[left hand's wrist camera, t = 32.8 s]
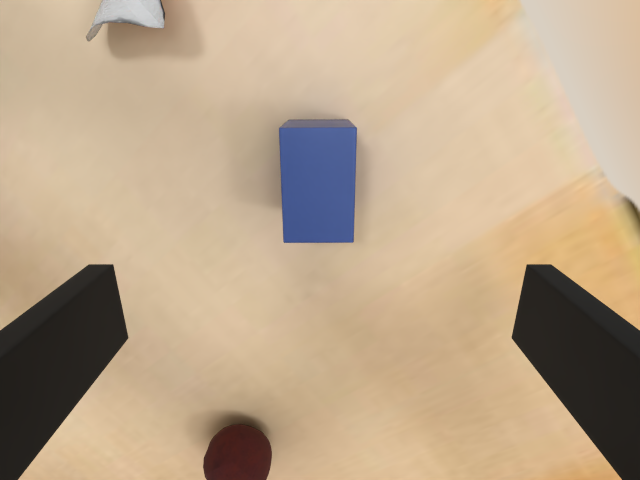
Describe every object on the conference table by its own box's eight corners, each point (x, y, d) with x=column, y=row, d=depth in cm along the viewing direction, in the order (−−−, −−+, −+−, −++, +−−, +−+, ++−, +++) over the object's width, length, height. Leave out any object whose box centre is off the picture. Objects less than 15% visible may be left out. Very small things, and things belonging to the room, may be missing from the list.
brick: (291, 211, 37) (283, 243, 30) (288, 119, 34) (278, 127, 27) (346, 211, 37) (353, 242, 30) (348, 119, 34) (356, 127, 27)
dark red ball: (241, 466, 49) (228, 524, 42) (200, 428, 47) (180, 483, 40) (287, 441, 48) (282, 497, 41) (247, 400, 45) (235, 452, 39)
